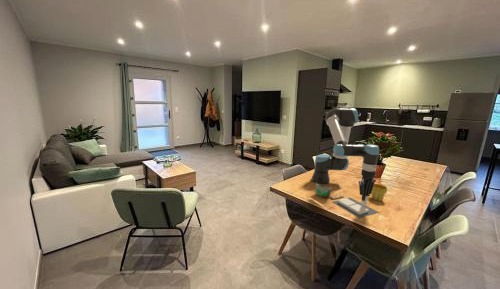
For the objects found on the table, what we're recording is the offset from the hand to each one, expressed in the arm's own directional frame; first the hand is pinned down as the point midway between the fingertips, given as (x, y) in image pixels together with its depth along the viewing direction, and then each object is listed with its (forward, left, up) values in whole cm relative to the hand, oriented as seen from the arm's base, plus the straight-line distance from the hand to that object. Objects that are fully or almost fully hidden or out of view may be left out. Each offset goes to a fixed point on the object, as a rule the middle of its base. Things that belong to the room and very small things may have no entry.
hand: (363, 204), depth 133 cm
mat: (-5, -2, -4) cm, 7 cm away
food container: (-25, -12, -5) cm, 28 cm away
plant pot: (-9, +26, -5) cm, 27 cm away
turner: (-19, +1, -5) cm, 20 cm away
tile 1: (-9, 0, -2) cm, 9 cm away
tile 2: (0, 0, -2) cm, 2 cm away
